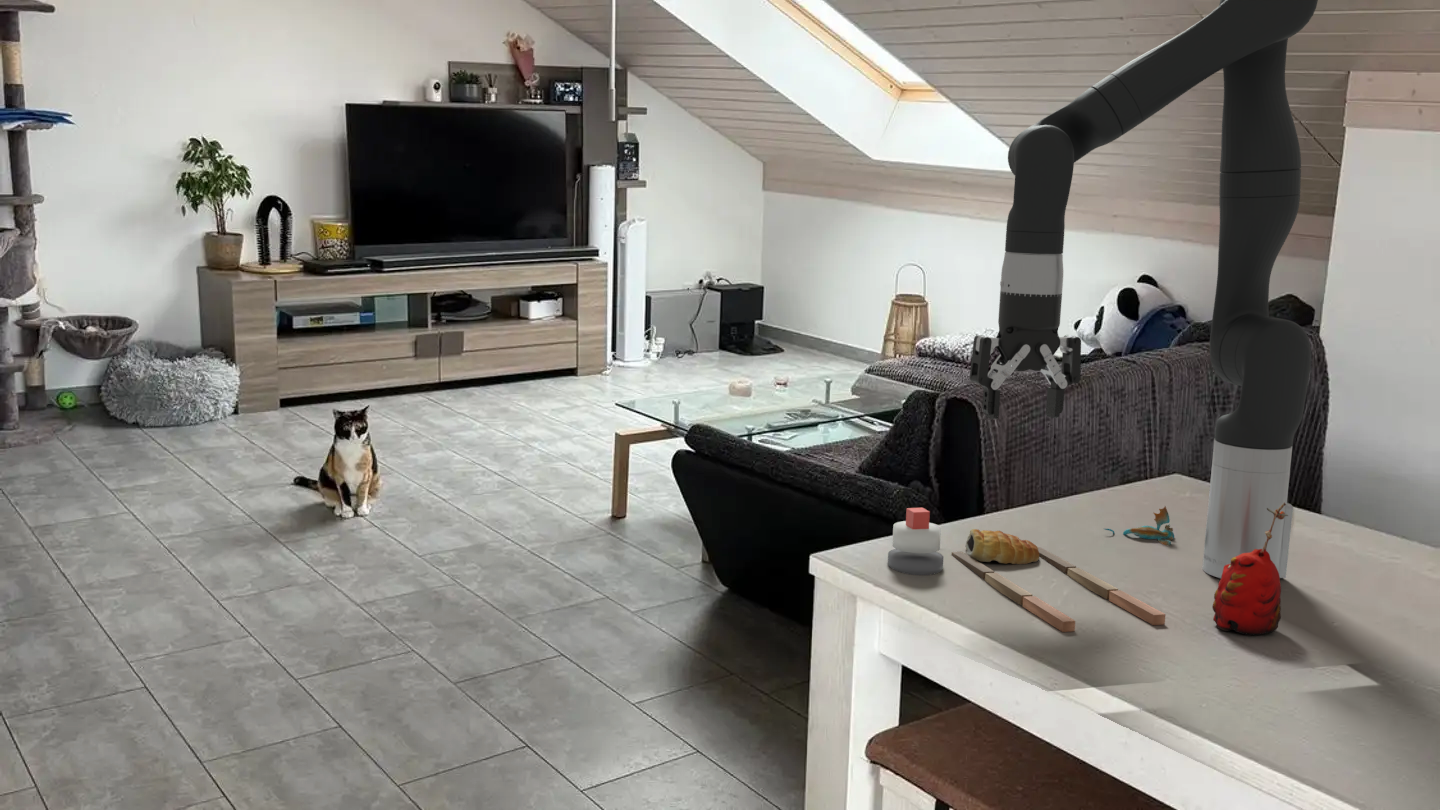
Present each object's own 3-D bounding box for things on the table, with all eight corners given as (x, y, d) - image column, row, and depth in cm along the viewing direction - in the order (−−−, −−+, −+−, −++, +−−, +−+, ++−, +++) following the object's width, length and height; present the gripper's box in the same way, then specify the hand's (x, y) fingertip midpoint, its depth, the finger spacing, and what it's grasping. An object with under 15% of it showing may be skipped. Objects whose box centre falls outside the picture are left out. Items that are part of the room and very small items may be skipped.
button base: (928, 561, 170) (929, 546, 169) (952, 576, 163) (952, 561, 163) (878, 564, 168) (879, 549, 168) (900, 579, 161) (901, 564, 161)
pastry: (1031, 556, 173) (1033, 528, 173) (1044, 568, 167) (1047, 539, 166) (961, 552, 173) (963, 524, 172) (972, 564, 166) (975, 535, 166)
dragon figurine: (1123, 567, 184) (1180, 560, 180) (1103, 551, 179) (1161, 544, 174) (1122, 523, 187) (1178, 516, 182) (1102, 506, 182) (1159, 498, 177)
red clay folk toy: (1222, 613, 152) (1234, 488, 149) (1286, 626, 148) (1299, 498, 145) (1204, 630, 146) (1216, 500, 143) (1271, 644, 142) (1284, 510, 139)
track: (1039, 555, 174) (1040, 547, 174) (1164, 624, 147) (1165, 614, 147) (951, 561, 170) (951, 552, 170) (1062, 632, 144) (1063, 621, 143)
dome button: (927, 539, 169) (929, 503, 168) (948, 551, 163) (950, 514, 162) (885, 541, 167) (886, 505, 166) (903, 554, 161) (905, 516, 161)
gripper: (993, 291, 156) (985, 424, 159) (1098, 292, 160) (1088, 421, 163) (965, 286, 163) (958, 413, 166) (1066, 287, 167) (1057, 411, 170)
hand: (1022, 417), depth 164 cm, fingers open, 8 cm apart
